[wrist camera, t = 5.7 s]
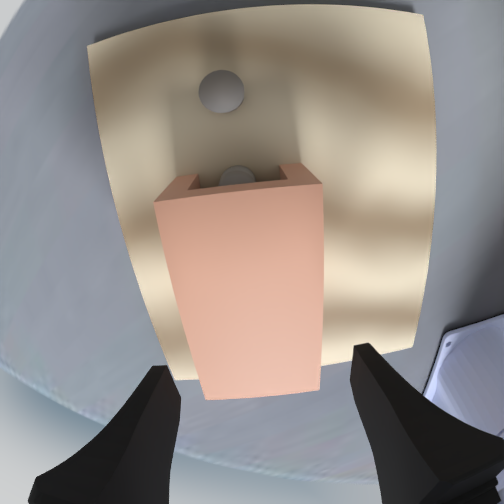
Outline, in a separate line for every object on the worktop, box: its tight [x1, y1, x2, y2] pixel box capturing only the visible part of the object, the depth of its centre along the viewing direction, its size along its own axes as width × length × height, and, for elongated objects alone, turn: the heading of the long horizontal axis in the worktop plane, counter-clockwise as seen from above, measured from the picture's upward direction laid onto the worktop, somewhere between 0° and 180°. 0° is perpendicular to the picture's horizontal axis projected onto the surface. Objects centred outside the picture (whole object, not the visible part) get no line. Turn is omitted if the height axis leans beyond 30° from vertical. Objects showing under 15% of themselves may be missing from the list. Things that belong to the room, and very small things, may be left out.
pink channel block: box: [153, 163, 324, 400], centre depth 14 cm, size 10×6×4 cm, turn 6°
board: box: [87, 4, 436, 380], centre depth 14 cm, size 20×16×3 cm
